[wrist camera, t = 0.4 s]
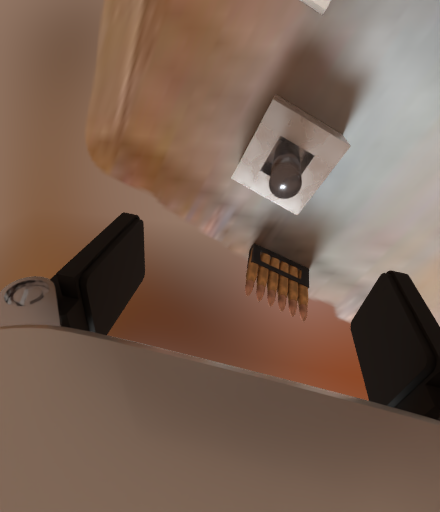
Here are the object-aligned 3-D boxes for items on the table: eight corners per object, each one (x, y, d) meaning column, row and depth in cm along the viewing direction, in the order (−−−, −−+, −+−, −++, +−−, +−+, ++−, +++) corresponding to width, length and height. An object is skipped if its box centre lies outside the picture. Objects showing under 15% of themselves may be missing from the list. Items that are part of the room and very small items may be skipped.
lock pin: (289, 134, 36) (288, 160, 26) (304, 153, 37) (308, 185, 27) (270, 151, 37) (262, 181, 28) (284, 169, 38) (281, 204, 29)
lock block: (275, 94, 34) (273, 99, 30) (342, 134, 35) (350, 146, 30) (238, 164, 40) (231, 178, 35) (296, 197, 41) (297, 215, 36)
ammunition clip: (309, 268, 48) (313, 320, 38) (303, 276, 49) (306, 327, 39) (253, 243, 47) (244, 288, 38) (249, 251, 48) (238, 297, 39)
